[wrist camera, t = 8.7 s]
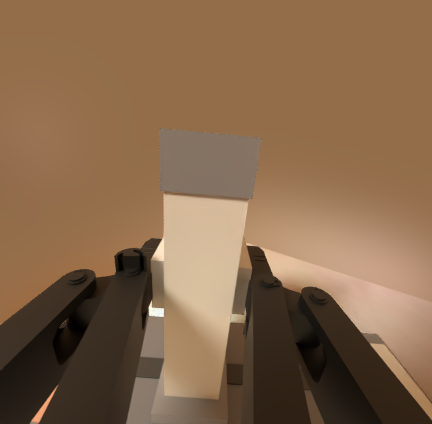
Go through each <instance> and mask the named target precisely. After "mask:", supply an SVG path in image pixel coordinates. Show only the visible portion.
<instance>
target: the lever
mask: <svg viewBox="0 0 432 424" xmlns="http://www.w3.org/2000/svg"><path fill="white" fill-rule="evenodd" d="M261 139H262V138H257V137H247V136H236V135H225V134H215V133H204V132H194V131H183V130H172V129H162V128H160V191H164V363H163V367H162V371H161V375H160V379H159V383H158V387H157V391H156V395H155V399H154V403H153V407H152V411H151V423H165V424H227V422H228V404H227V370H226V346H227V340H228V333H229V326H230V320H231V313H232V306H233V300H234V293H235V287H236V280H237V273H238V267H239V260H240V253H241V247H242V240H243V233H244V227H245V220H246V214H247V207H248V200H249V199H252V197H253V190H254V184H255V177H256V171H257V165H258V158H259V152H260V145H261Z"/></svg>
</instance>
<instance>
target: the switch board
mask: <svg viewBox="0 0 432 424" xmlns="http://www.w3.org/2000/svg"><path fill="white" fill-rule="evenodd" d="M244 325H245V324H242V323H230V326H229V333H228V340H227V346H226V370H227V404H228V422H227V424H241V411H242V386H243V360H244V335H243V331H244ZM362 335H363V336H364V337H365V338H366V340H367V341H368V342H369V343H370V345H371V346H372V347H373V348H374V349H375V351H376V352H377V353H378V354H379V356H380V357H381V358H382V359H383V361H384V362H385V363H386V364H387V365H388V367H389V368H390V369H391V370H392V372H393V373H394V374H395V375H396V377H397V378H398V379H399V380H400V381H401V383H402V384H403V385H404V386H405V388H406V389H407V390H408V391H409V393H410V394H411V395H412V396H413V397H414V399H415V400H416V401H417V402H418V404H419V405H420V406H421V407H422V409H423V410H424V411H425V412H426V413H427V415H428V416H429V417H430V418H431V420H432V402H431V401H430V399H429V398H428V397H427V396H426V394H425V393H424V392H423V391H422V389H421V388H420V387H419V386H418V384H417V383H416V382H415V381H414V379H413V378H412V377H411V376H410V374H409V373H408V372H407V371H406V369H405V368H404V367H403V366H402V364H401V363H400V362H399V361H398V359H397V358H396V357H395V356H394V354H393V353H392V352H391V351H390V349H389V348H388V347H387V346H386V344H385V343H384V342H383V341H382V340H381V338H380V337H379V336H378V335H377V334H367V333H362ZM163 363H164V317H155V316H149V317H148V322H147V326H146V331H145V336H144V341H143V346H142V350H141V355H140V360H139V365H138V370H137V374H136V379H135V384H134V389H133V394H132V398H131V403H130V408H129V413H128V418H127V422H126V424H165V423H151V411H152V407H153V403H154V399H155V395H156V391H157V387H158V383H159V379H160V375H161V371H162V367H163ZM299 367H300V365H299ZM300 372H301V377H302V382H303V386H304V391H305V396H306V401H307V406H308V410H309V415H310V420H311V424H324V421H323V419H322V417H321V414H320V412H319V410H318V407H317V405H316V403H315V400H314V398H313V396H312V393H311V391H310V389H309V386H308V384H307V382H306V379H305V377H304V375H303V372H302V370H301V368H300ZM56 388H57V387H56ZM56 388H55V390H56ZM55 390H54V391H53V392H52V394H51V395H50V396H49V398H48V399H47V401H46V402H45V403H44V405H43V406H42V407H41V409H40V410H39V411H38V413H37V414H36V416H35V417H34V418H33V420H32V421H31V422H30V424H38V423H39V421H40V420H41V418H42V416H43V414H44V412H45V410H46V408H47V406H48V404H49V402H50V400H51V398H52V396H53V394H54V392H55Z"/></svg>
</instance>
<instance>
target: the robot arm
mask: <svg viewBox="0 0 432 424" xmlns="http://www.w3.org/2000/svg"><path fill="white" fill-rule="evenodd" d="M115 266H116V273H115V275H112V276H106V277H98V278H96V275H95V273H94V271H92V270H89V269H81V270H76V271H73V272H70V273H68V274H66V275H65V276H63V277H61V278H60V279H59V280H58V281H56V282H55V283H54V284H52V285H51V286H50V287H49V288H47V289H46V290H45V291H43V292H42V293H41V294H39V295H38V296H37V297H36V298H34V299H33V300H32V301H31V302H30V303H28V304H27V305H26V306H24V307H23V308H22V309H20V310H19V311H18V312H17V313H15V314H14V315H13V316H11V317H10V318H9V319H8V320H6V321H5V322H4V323H2V324H1V325H0V424H30V422H31V421H32V420H33V418H34V417H35V416H36V414H37V413H38V411H39V410H40V409H41V407H42V406H43V405H44V403H45V402H46V401H47V399H48V398H49V396H50V395H51V394H52V392H53V391H54V390H55V388H56V387H57V388H56V390H55V392H54V394H53V396H52V398H51V400H50V402H49V404H48V406H47V408H46V410H45V412H44V414H43V416H42V418H41V420H40V421H39V423H38V424H126V422H127V418H128V413H129V408H130V403H131V398H132V394H133V389H134V384H135V379H136V374H137V370H138V365H139V360H140V355H141V350H142V346H143V341H144V336H145V331H146V326H147V322H148V317H149V308H148V307H149V305H150V303H151V300H152V307H153V308H164V237H163V239H154V238H151V239H150V240H148V241H146V242H145V243H144V245H143V246H142V248H141V249H138V248H129V249H125V250H122V251H120V252H118V253H117V254H116V255H115ZM245 307H246V320H245V325H244V331H243V335H244V360H243V386H242V411H241V424H311V420H310V415H309V410H308V406H307V401H306V396H305V391H304V386H303V382H302V377H301V372H300V368H301V370H302V372H303V375H304V377H305V379H306V382H307V384H308V386H309V389H310V391H311V393H312V396H313V398H314V400H315V403H316V405H317V407H318V410H319V412H320V414H321V417H322V419H323V421H324V424H432V420H431V418H430V417H429V416H428V415H427V413H426V412H425V411H424V410H423V409H422V407H421V406H420V405H419V404H418V402H417V401H416V400H415V399H414V397H413V396H412V395H411V394H410V393H409V391H408V390H407V389H406V388H405V386H404V385H403V384H402V383H401V381H400V380H399V379H398V378H397V377H396V375H395V374H394V373H393V372H392V370H391V369H390V368H389V367H388V365H387V364H386V363H385V362H384V361H383V359H382V358H381V357H380V356H379V354H378V353H377V352H376V351H375V349H374V348H373V347H372V346H371V345H370V343H369V342H368V341H367V340H366V338H365V337H364V336H363V335H362V333H361V332H360V331H359V330H358V329H357V327H356V326H355V325H354V324H353V322H352V321H351V320H350V319H349V317H348V316H347V315H346V314H345V313H344V311H343V310H342V309H341V308H340V306H339V305H338V304H337V303H336V301H335V300H334V299H333V298H332V297H331V296H330V295H329V294H328V293H326V292H325V291H323V290H321V289H318V288H316V287H305V288H303V289H302V291H301V293H298V292H295V291H291V290H288V289H286V288H284V287H283V286H282V283H281V281H280V280H278V279H277V278H276V277H274V276H273V274H272V272H271V269H270V267H269V264H268V262H267V259H266V256H265V254H264V251H263V250H262V249H260V248H259V247H256V246H246V242H245V238H244V234H243V240H242V247H241V253H240V260H239V267H238V273H237V280H236V287H235V293H234V300H233V306H232V313H231V314H241V315H244V312H245ZM64 321H65V322H64ZM63 322H64V323H63ZM299 365H300V367H299Z"/></svg>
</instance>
